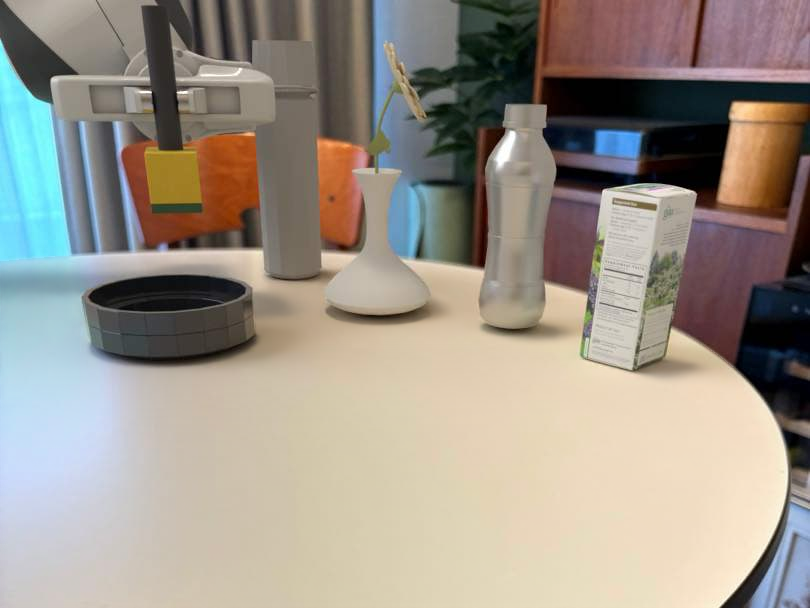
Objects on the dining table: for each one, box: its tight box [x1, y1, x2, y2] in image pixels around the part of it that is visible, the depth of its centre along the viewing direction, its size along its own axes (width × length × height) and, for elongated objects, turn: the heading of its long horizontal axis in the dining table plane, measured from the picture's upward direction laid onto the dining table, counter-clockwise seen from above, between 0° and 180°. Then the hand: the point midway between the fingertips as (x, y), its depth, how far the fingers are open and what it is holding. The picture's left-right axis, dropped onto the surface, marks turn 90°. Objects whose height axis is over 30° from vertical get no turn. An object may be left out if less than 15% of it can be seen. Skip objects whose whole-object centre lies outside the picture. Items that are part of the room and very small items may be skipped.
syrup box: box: [579, 183, 698, 371], centre depth 72 cm, size 6×6×14 cm
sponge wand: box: [141, 5, 204, 215], centre depth 74 cm, size 4×6×16 cm
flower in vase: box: [323, 39, 432, 316], centre depth 83 cm, size 13×11×25 cm
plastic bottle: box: [478, 103, 557, 330], centre depth 79 cm, size 6×7×20 cm
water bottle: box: [251, 39, 323, 280], centre depth 98 cm, size 9×8×25 cm
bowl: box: [80, 273, 256, 361], centre depth 78 cm, size 15×15×4 cm
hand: (165, 102), depth 72 cm, fingers closed on sponge wand, 2 cm apart
